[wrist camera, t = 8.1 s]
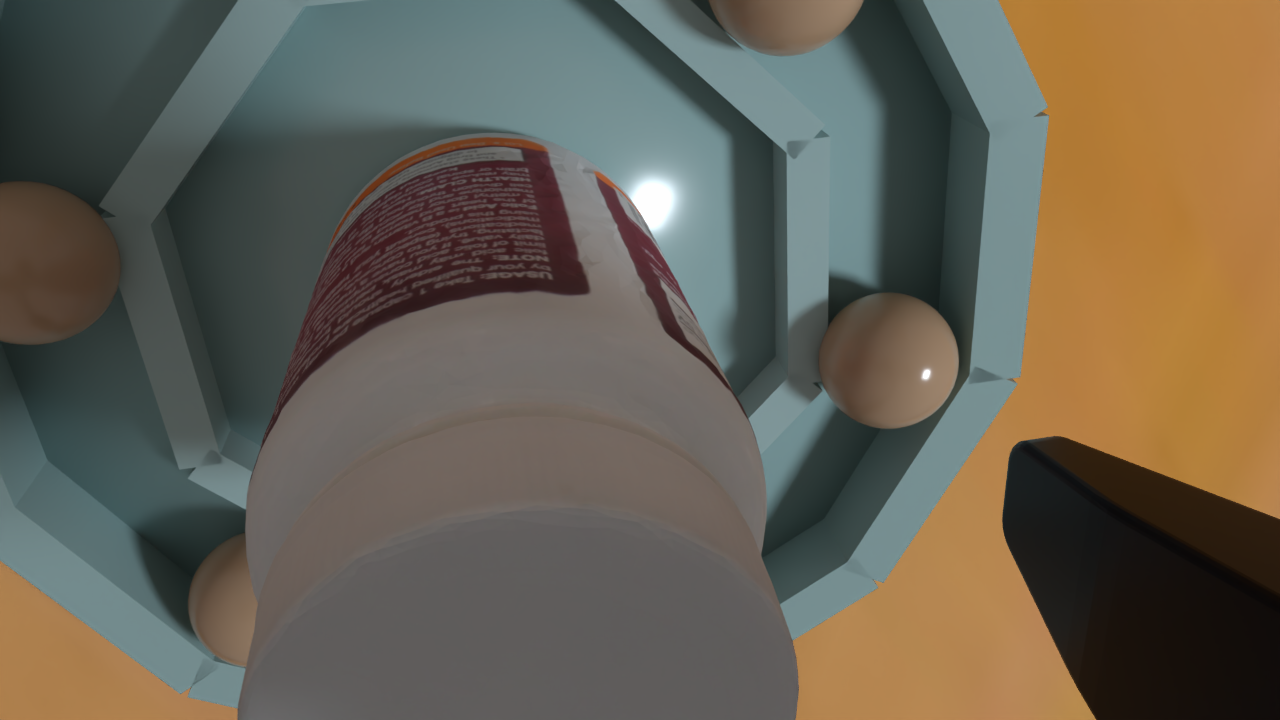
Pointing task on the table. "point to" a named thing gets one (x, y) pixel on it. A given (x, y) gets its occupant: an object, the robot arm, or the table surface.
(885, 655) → the table surface
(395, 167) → the pill bottle
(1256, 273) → the table surface
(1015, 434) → the table surface
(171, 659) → the tray
